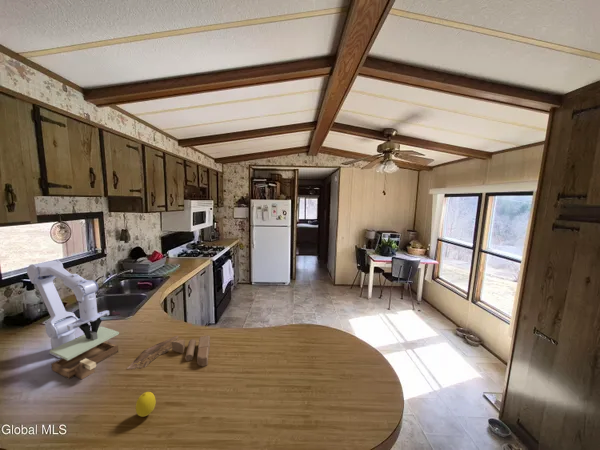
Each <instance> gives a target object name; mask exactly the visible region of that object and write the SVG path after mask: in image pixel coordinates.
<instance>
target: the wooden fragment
mask: <svg viewBox="0 0 600 450" xmlns="http://www.w3.org/2000/svg"><path fill="white" fill-rule="evenodd" d="M178 338H179V335H176V336H173V337H171V338H169V339H166V340H164V341H162V342H160V343H157V344H154V345H153V346H150V347H149V348H146V349H144V350H143V351H142V352H140V354H138V356H137V357H136V359H134V360H133V361H132V362H131V364H130V365H129V366H128V367H127V368H126V370H127V369H131V370H132V369H134V370H136V369H135V368H139V369H143V368H146V367H147V366H149V364H150V363H151V362H152V361H154V360H155V359H157V358H158V357H160V356H161V355H164V354H166V353H167V352H169V351H170V350H172V341H178ZM139 361H141V362H140V364H138V365H137V364H134V363H138V362H139ZM133 364H134V365H133ZM142 367H143V368H142Z"/></svg>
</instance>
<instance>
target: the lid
mask: <svg viewBox="0 0 600 450" xmlns="http://www.w3.org/2000/svg"><path fill="white" fill-rule="evenodd" d="M90 334H91V338H90V339H87V338H86V336H85V334H84V333H83V334H82V335H80V336H78V337H76V338H75V339H73V340H71V341H69V342H67V343H65V344H62V345H60V346H58V347H56V348H54V349H52V348H51V349H49V352H50V353H52V354H55V355H57V356H59V357H61V358H60V359H62V358H63V359H65V360H70V359H72V358H74V357H76V356H78V355H80V354H82V353H83V352H85V351H87V350H89V349H91V348H93V347H95V346H97V345H99V344H101V343H103V342H105V341H106V342H107V341H108V340H110V339H112V338H115V337H116V336H118V335H119V334H120V332H119V331H117V330H114V329H112V328H107V327H106V326H101V325H100V326H99V328H98V331H97V332H94V331H92V330H91V329H90Z"/></svg>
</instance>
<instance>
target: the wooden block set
mask: <svg viewBox="0 0 600 450" xmlns="http://www.w3.org/2000/svg"><path fill="white" fill-rule="evenodd" d="M196 343H197V340H196V339H193V338H192V339H190V340H189V341H188V343H187V349H186V354H185V361H186V362H189V361H190V362H191V361H193V359H194V356H195V351H196V349H195V348H196V345H197V344H196ZM210 345H211V337H210V335H204V336H202V335H201V336H200V337H199V340H198V345H197V346H198V347H197V355H196V360H197V361H196V362H197V365H198V366H200V367H202V368H203V367H206V366H208V364H209V362H208V361H209V354H210V347H211V346H210ZM185 346H186V344H185V339H179V340H178V339H177V340H176V341H172V348H171V351H173V352H176V353H178V352H179V353H178V354H181V353H182V354H181V355H183V354H184V352H185V348H186V347H185Z"/></svg>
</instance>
